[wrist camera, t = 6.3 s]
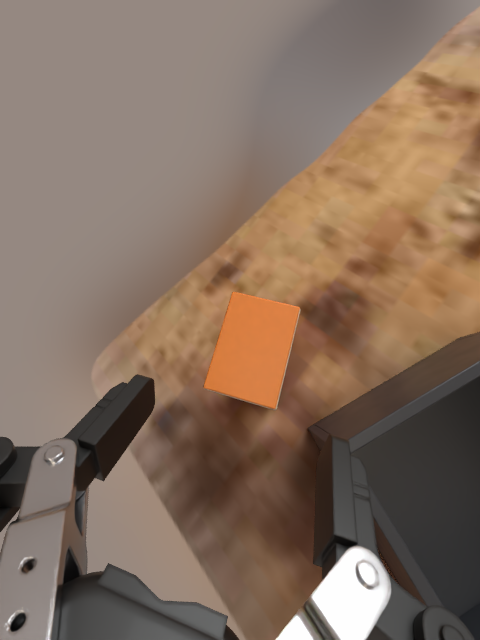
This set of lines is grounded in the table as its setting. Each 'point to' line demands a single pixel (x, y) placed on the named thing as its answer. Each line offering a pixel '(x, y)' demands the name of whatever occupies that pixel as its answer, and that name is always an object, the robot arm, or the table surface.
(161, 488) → the table surface
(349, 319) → the table surface
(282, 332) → the block
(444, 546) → the dark grey open box
